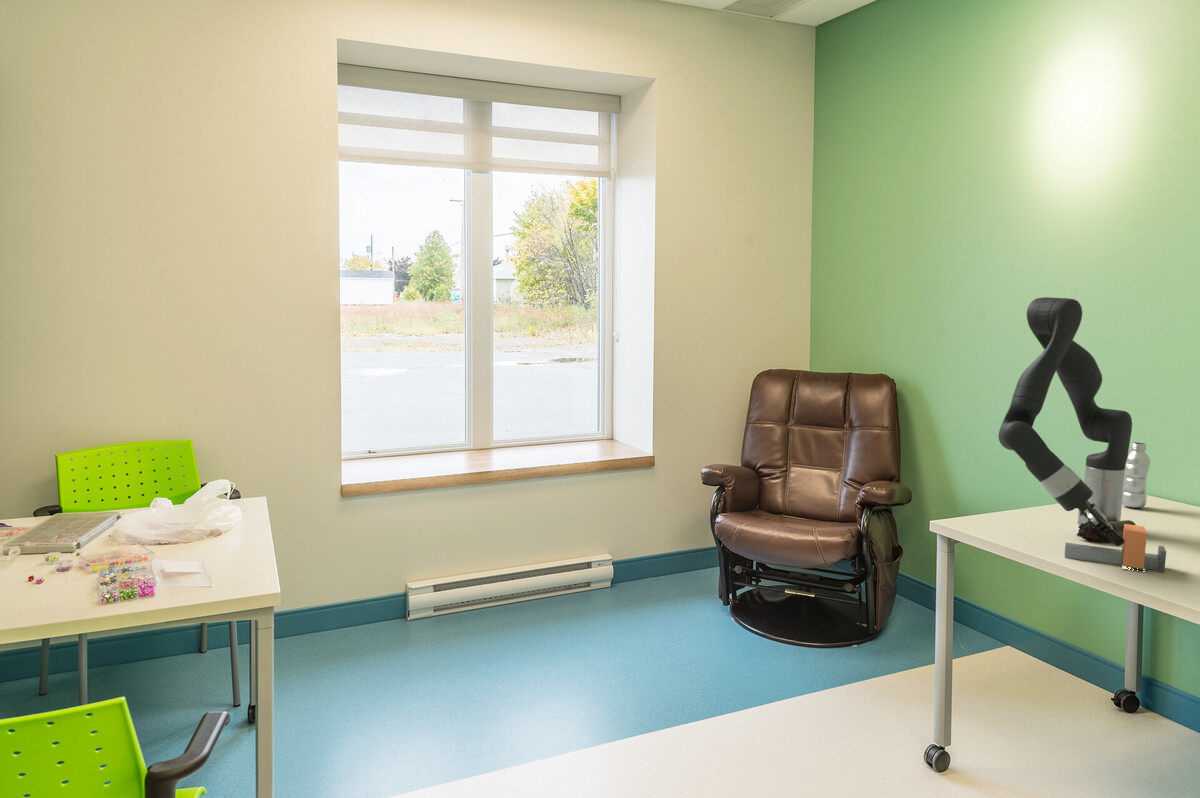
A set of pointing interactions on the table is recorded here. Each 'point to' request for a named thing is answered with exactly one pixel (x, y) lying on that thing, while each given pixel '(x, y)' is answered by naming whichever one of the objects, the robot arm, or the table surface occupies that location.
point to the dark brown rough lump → (1092, 534)
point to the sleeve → (1134, 546)
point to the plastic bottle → (1136, 476)
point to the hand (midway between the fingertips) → (1120, 543)
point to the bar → (1114, 556)
